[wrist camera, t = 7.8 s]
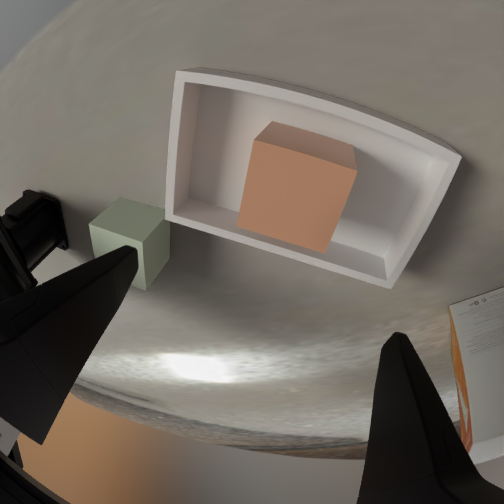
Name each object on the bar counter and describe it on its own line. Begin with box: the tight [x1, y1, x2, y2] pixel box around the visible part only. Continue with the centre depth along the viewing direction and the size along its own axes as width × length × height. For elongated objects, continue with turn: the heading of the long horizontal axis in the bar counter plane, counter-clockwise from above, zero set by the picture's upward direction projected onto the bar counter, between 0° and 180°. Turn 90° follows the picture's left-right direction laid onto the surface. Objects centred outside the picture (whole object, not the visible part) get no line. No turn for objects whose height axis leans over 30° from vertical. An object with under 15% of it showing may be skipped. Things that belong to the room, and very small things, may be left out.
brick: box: [237, 121, 358, 254], centre depth 16 cm, size 5×5×4 cm
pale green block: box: [89, 197, 170, 291], centre depth 23 cm, size 5×5×4 cm
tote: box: [165, 67, 462, 289], centre depth 17 cm, size 10×16×3 cm, turn 79°
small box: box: [449, 287, 504, 464], centre depth 17 cm, size 8×6×13 cm
